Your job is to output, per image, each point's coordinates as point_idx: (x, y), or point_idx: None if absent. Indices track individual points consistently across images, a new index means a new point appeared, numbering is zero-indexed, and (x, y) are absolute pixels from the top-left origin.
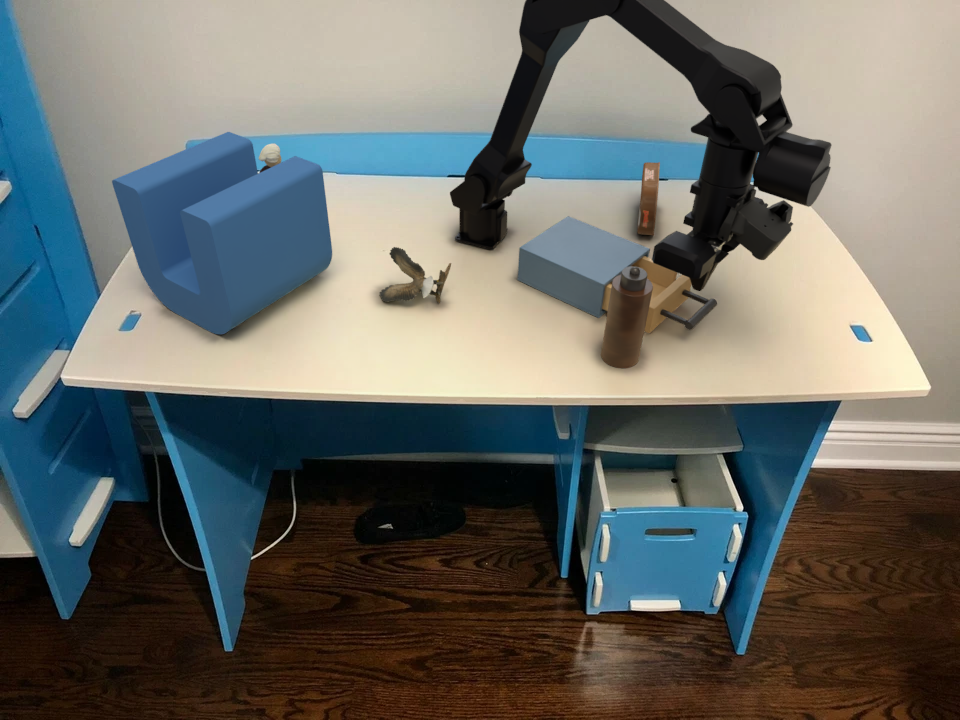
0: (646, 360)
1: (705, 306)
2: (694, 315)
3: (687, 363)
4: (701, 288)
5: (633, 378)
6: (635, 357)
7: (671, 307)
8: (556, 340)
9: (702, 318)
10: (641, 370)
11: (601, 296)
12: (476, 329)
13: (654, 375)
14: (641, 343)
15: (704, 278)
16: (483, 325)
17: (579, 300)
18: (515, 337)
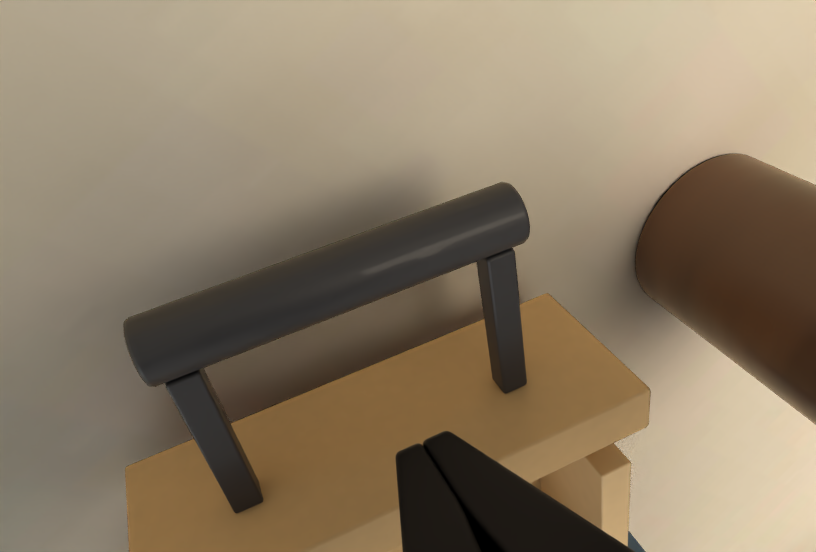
0: (663, 155)
1: (289, 321)
2: (438, 271)
3: (561, 17)
4: (476, 448)
5: (791, 88)
6: (765, 172)
7: (363, 408)
8: (741, 388)
9: (377, 233)
10: (731, 111)
11: (630, 534)
12: (803, 486)
13: (732, 49)
14: (785, 212)
15: (601, 534)
16: (782, 495)
17: None
18: (786, 434)
